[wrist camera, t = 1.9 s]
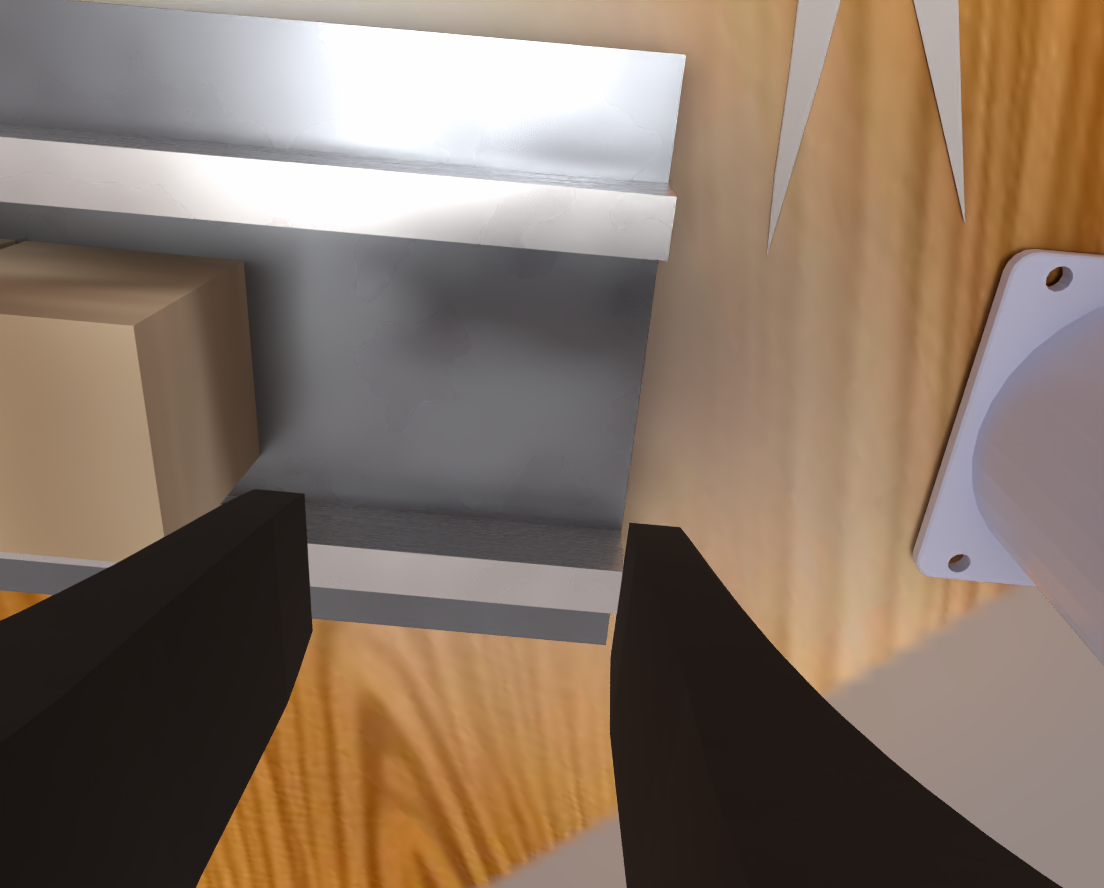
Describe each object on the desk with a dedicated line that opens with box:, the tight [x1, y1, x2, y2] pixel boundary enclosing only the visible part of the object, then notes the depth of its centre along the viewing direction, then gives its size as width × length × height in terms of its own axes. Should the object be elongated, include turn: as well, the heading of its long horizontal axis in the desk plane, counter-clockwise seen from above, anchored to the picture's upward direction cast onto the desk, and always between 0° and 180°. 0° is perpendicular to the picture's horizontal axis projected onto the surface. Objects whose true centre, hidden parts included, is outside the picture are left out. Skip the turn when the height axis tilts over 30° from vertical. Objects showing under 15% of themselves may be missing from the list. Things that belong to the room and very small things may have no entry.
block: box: [0, 241, 260, 562], centre depth 14 cm, size 4×4×4 cm
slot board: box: [0, 0, 686, 645], centre depth 16 cm, size 16×12×4 cm
